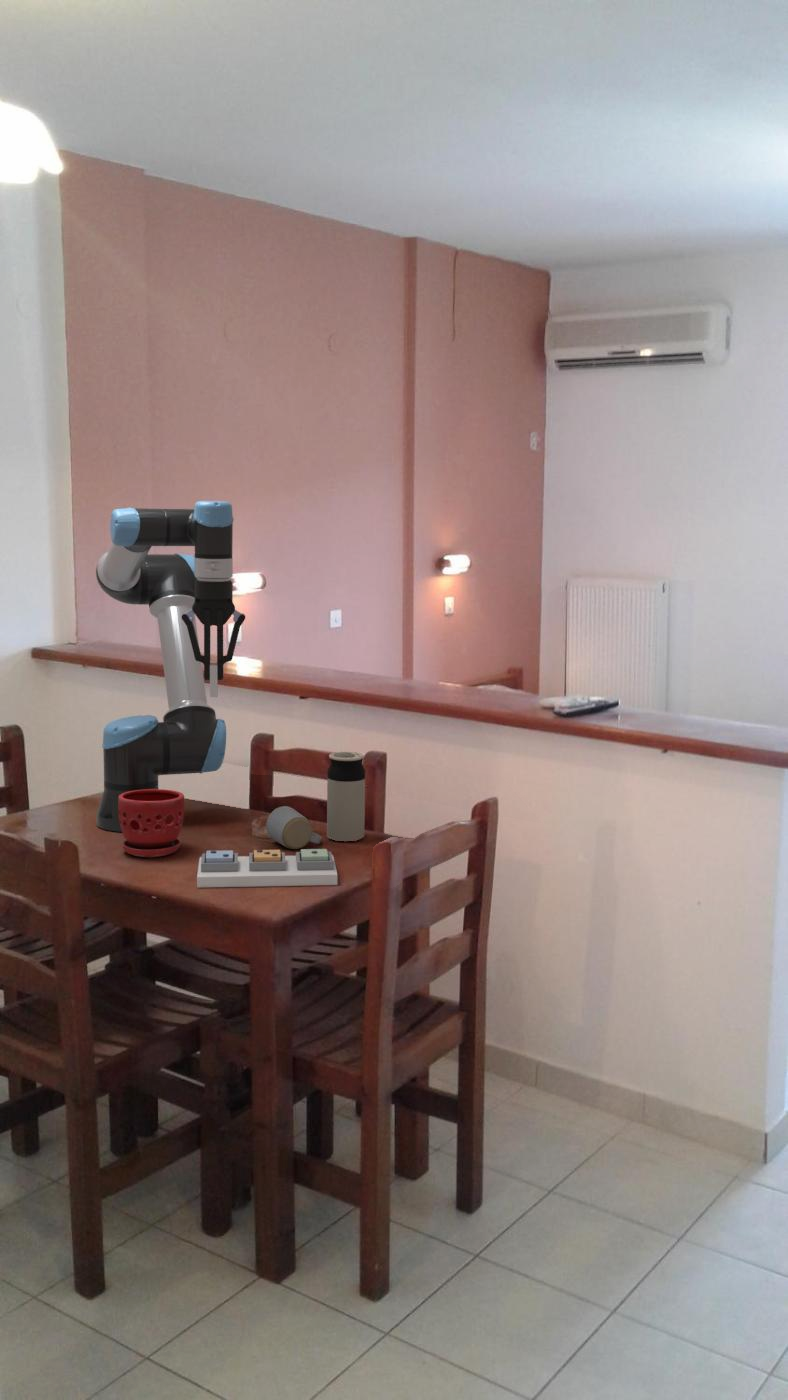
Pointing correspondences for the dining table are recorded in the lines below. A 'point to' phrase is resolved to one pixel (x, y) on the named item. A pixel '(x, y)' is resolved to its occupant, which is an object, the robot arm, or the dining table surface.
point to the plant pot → (151, 821)
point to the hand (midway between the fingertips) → (213, 695)
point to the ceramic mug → (290, 828)
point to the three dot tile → (267, 856)
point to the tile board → (266, 872)
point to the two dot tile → (219, 856)
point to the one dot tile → (314, 855)
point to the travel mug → (345, 796)
